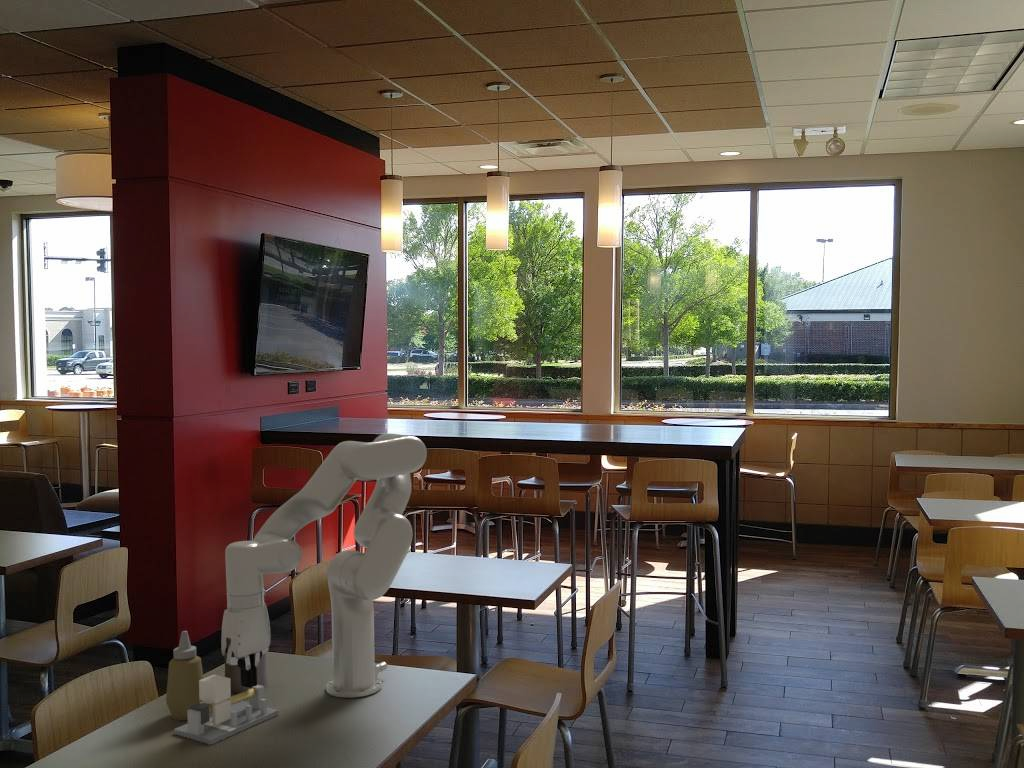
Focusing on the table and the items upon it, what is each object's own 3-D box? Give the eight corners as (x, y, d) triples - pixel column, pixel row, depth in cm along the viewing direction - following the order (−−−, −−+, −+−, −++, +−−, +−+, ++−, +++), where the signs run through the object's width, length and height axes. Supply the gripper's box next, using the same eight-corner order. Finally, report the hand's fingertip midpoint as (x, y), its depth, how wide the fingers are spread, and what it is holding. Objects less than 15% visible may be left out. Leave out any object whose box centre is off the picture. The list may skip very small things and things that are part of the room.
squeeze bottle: (193, 724, 193) (191, 638, 192) (158, 721, 194) (156, 636, 194) (213, 709, 201) (211, 627, 200) (179, 707, 202) (177, 625, 202)
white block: (215, 714, 193) (214, 674, 192) (231, 718, 190) (230, 678, 190) (199, 720, 189) (199, 680, 189) (215, 724, 187) (214, 684, 186)
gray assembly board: (242, 705, 203) (242, 677, 203) (278, 714, 197) (278, 686, 197) (173, 733, 187) (173, 704, 187) (210, 744, 182) (210, 714, 182)
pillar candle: (215, 689, 213) (214, 624, 213) (248, 676, 222) (247, 614, 221) (245, 697, 208) (244, 631, 208) (277, 683, 217) (276, 620, 216)
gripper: (259, 590, 205) (263, 672, 205) (205, 607, 192) (209, 694, 193) (284, 593, 201) (287, 677, 201) (230, 611, 188) (234, 700, 189)
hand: (249, 685), depth 197 cm, fingers closed
